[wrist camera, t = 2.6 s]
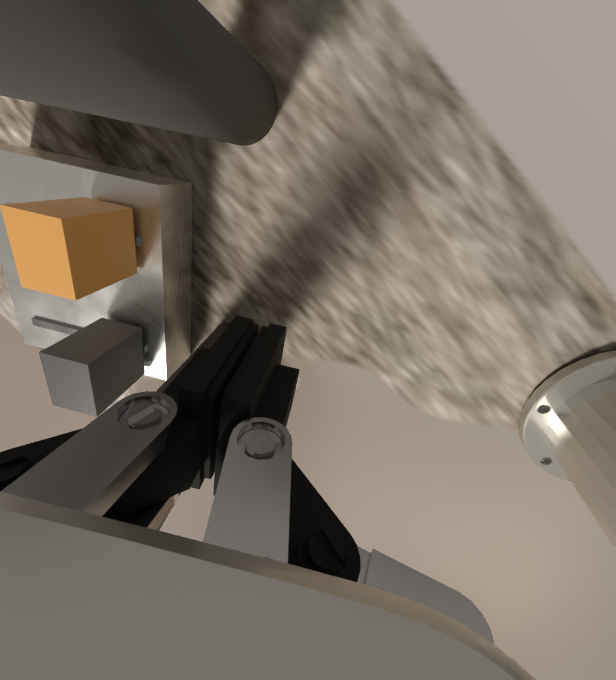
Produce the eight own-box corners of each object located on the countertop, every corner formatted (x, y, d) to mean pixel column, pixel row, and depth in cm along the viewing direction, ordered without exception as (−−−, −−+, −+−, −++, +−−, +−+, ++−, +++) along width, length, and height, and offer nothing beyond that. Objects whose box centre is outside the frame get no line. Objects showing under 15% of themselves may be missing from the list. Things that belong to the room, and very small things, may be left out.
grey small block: (141, 327, 23) (87, 364, 18) (145, 373, 25) (97, 416, 20) (101, 317, 23) (38, 352, 18) (108, 363, 25) (52, 404, 20)
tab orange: (132, 208, 19) (60, 219, 14) (137, 273, 21) (75, 300, 16) (84, 197, 19) (-1, 204, 15) (93, 262, 21) (21, 287, 16)
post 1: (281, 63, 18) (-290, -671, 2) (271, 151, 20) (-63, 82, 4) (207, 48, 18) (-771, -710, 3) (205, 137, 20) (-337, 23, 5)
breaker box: (192, 183, 22) (156, 185, 18) (191, 354, 29) (164, 382, 25) (29, 146, 22) (-38, 141, 19) (65, 323, 29) (21, 345, 25)
